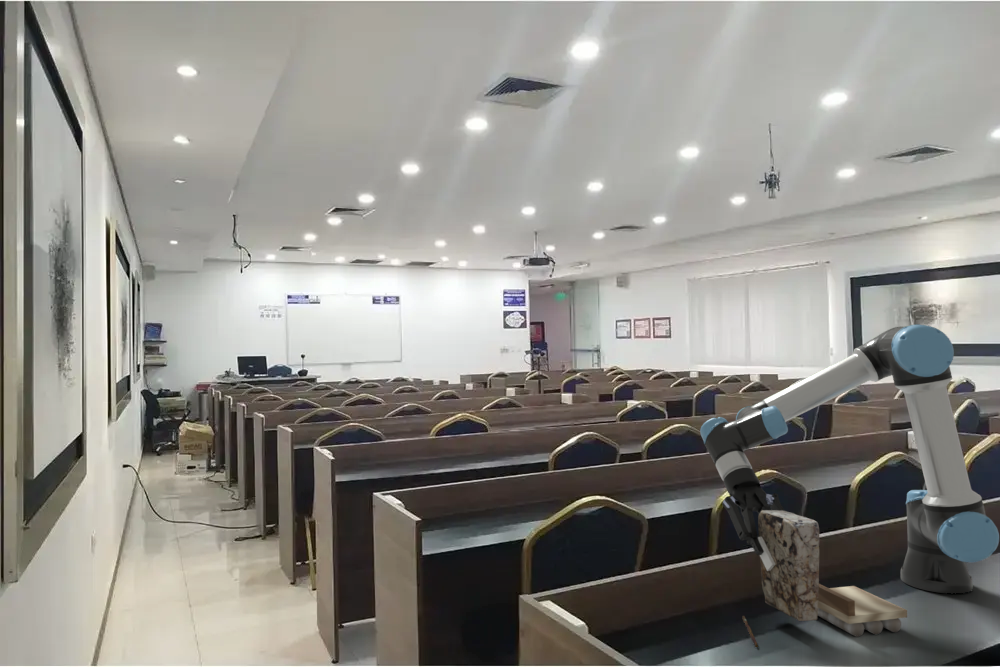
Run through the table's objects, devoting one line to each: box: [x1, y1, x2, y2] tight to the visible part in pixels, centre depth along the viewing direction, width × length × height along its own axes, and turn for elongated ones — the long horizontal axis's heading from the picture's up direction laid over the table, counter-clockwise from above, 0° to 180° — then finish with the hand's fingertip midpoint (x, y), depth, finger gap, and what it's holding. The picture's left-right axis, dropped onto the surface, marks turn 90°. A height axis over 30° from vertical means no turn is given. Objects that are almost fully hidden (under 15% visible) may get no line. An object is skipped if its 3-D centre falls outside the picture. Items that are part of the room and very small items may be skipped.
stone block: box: [757, 510, 820, 622], centre depth 142 cm, size 13×7×20 cm, turn 19°
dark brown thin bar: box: [742, 615, 759, 648], centre depth 140 cm, size 15×1×1 cm, turn 170°
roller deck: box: [818, 583, 908, 638], centre depth 145 cm, size 14×15×8 cm
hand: (783, 566), depth 144 cm, fingers closed on stone block, 5 cm apart
